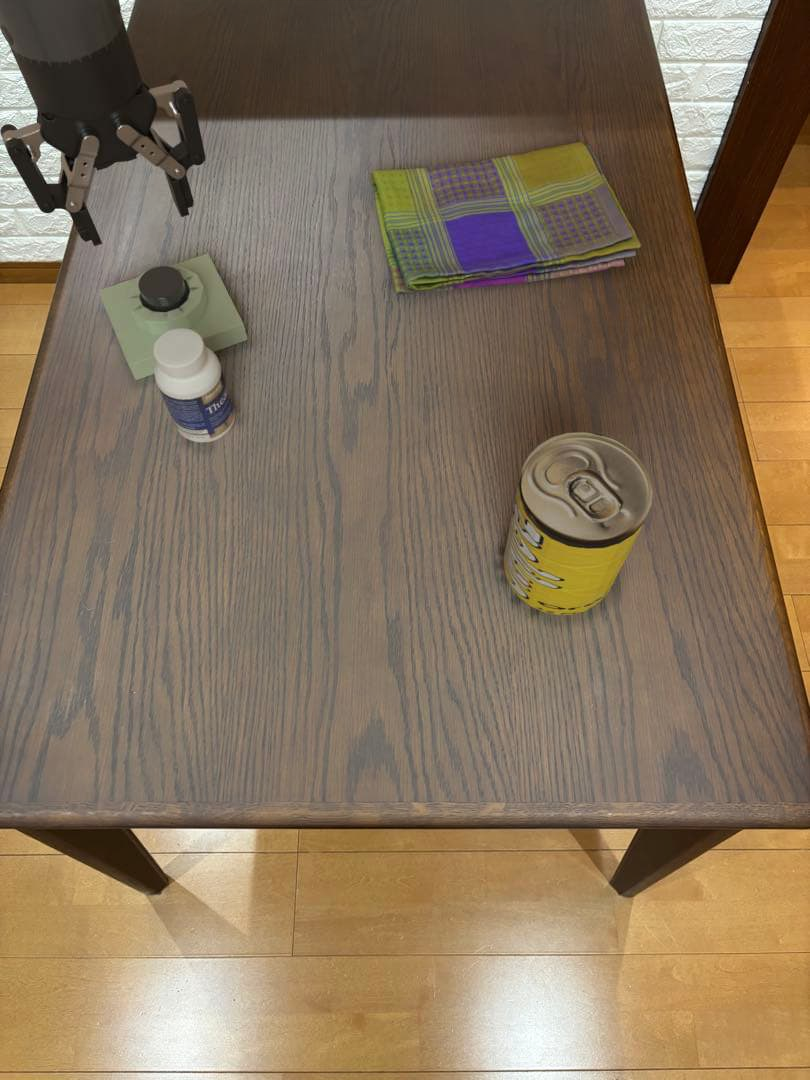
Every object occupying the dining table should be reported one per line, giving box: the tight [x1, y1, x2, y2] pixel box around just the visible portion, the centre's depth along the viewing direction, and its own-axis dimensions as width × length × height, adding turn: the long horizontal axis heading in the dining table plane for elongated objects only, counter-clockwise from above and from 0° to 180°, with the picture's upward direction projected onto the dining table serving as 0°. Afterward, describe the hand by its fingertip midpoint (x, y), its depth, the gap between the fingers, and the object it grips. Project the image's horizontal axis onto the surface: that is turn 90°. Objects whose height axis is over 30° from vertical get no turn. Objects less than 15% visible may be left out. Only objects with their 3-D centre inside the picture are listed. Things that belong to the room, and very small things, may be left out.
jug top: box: [98, 253, 249, 381], centre depth 77 cm, size 11×10×4 cm
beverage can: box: [502, 431, 654, 616], centre depth 61 cm, size 9×9×12 cm
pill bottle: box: [153, 328, 236, 443], centre depth 69 cm, size 5×5×10 cm
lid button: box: [138, 265, 187, 312], centre depth 75 cm, size 4×4×2 cm
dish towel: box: [370, 141, 642, 296], centre depth 83 cm, size 18×24×3 cm
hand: (139, 224), depth 68 cm, fingers open, 7 cm apart
